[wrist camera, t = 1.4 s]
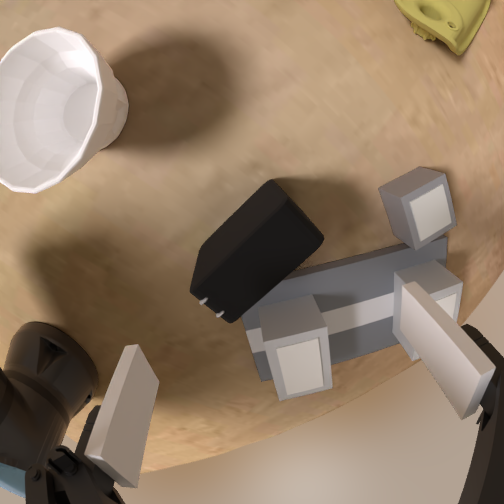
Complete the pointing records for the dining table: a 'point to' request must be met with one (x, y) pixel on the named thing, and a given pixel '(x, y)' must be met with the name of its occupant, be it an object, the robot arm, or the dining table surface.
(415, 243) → the module
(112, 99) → the cup
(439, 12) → the plastic component
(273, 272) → the electronic device
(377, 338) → the board
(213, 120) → the dining table surface
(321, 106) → the dining table surface
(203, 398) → the dining table surface
